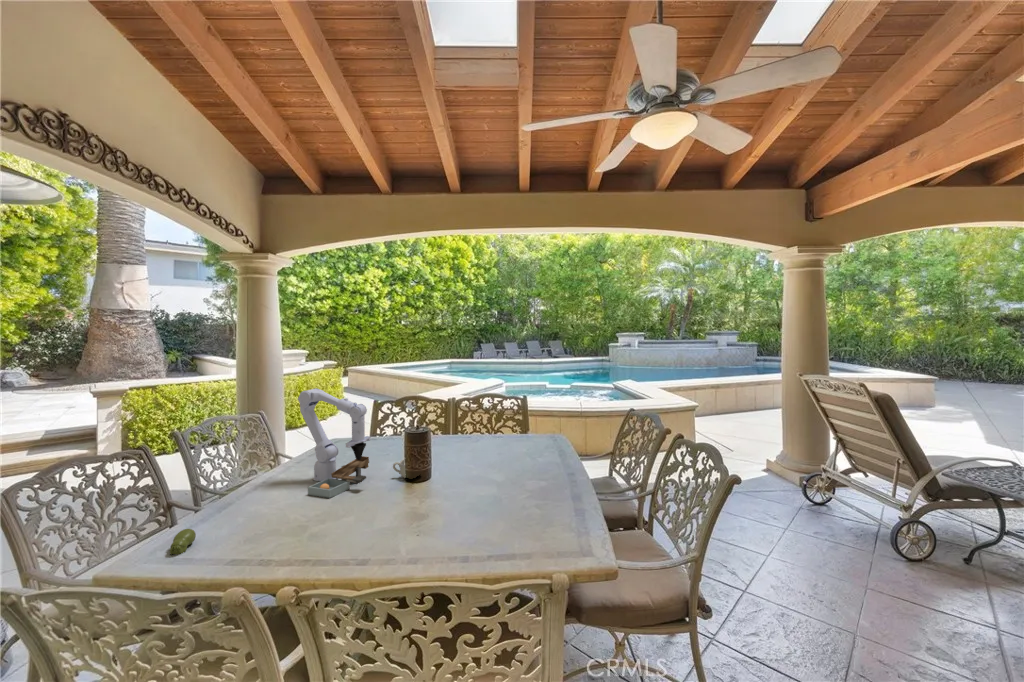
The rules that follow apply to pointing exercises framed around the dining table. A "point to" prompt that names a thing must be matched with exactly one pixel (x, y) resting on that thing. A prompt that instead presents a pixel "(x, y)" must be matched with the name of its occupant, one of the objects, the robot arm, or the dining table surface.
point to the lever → (352, 470)
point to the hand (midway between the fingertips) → (358, 459)
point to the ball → (324, 486)
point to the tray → (334, 488)
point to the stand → (358, 472)
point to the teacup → (402, 468)
